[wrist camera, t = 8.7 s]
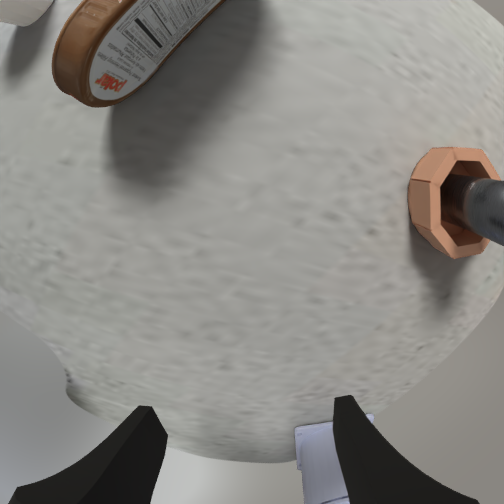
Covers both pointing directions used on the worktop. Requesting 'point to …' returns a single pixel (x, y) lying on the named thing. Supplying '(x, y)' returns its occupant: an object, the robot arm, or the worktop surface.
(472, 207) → the cell
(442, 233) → the cup
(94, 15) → the tin
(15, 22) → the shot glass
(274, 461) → the worktop surface
